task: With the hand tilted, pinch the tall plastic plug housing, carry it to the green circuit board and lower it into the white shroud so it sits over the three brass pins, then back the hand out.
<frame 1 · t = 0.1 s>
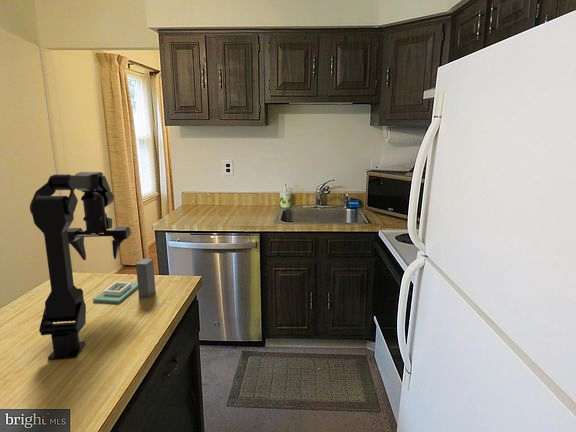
hand: (100, 259, 114), 14 cm above the worktop, tool pointing down, fingers open, 9 cm apart
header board: (118, 293, 123), on the worktop
plug housing: (147, 294, 122), on the worktop
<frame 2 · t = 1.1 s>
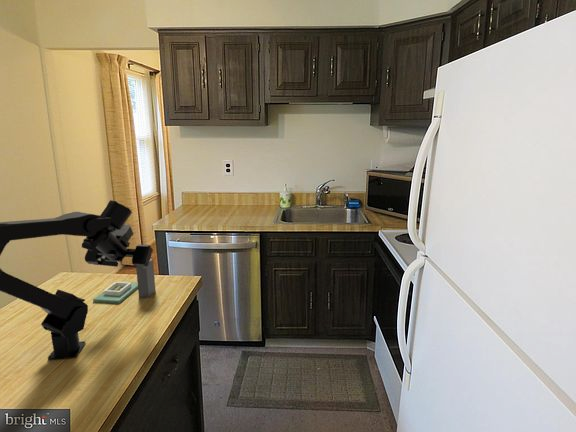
hand: (131, 265, 111), 14 cm above the worktop, tool tilted 45°, fingers open, 9 cm apart
nothing on the worktop moved.
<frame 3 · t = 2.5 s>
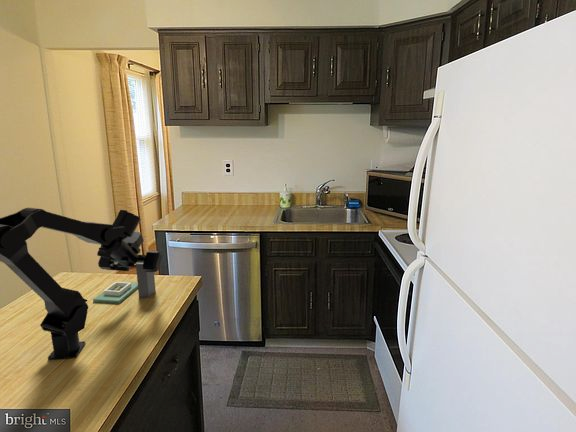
hand: (141, 270, 118), 10 cm above the worktop, tool tilted 45°, fingers open, 9 cm apart
nothing on the worktop moved.
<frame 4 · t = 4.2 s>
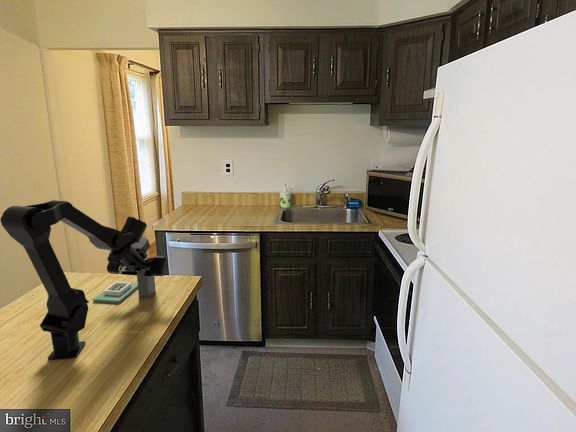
hand: (147, 274, 122), 7 cm above the worktop, tool tilted 45°, fingers closed on plug housing, 3 cm apart
plug housing: (147, 294, 122), on the worktop, touching gripper
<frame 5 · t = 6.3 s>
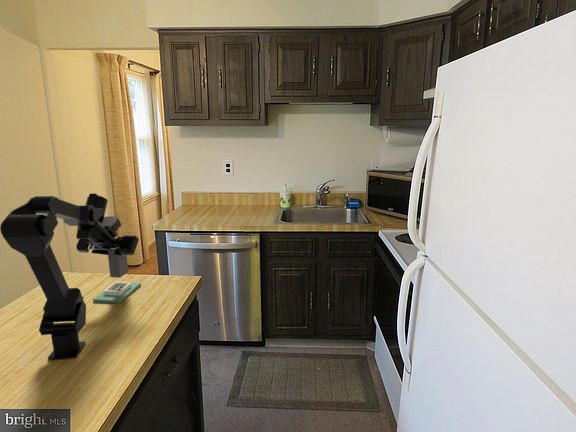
hand: (119, 254, 121), 14 cm above the worktop, tool tilted 45°, fingers closed on plug housing, 3 cm apart
plug housing: (119, 274, 121), point 7 cm above the worktop, touching gripper
when the fingers open (9 cm above the worktop, at t = 8.2 s): plug housing stays where it is, resting on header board.
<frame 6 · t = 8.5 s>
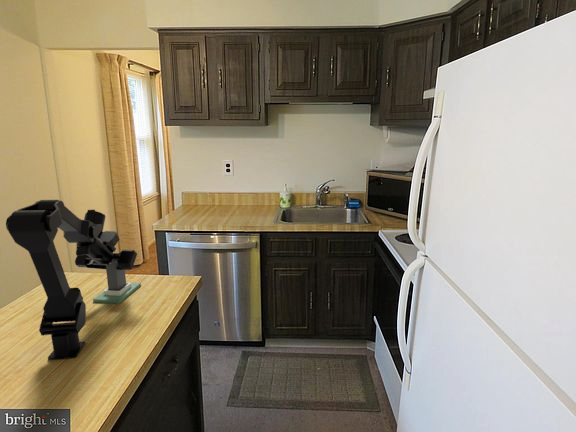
hand: (118, 268, 122), 9 cm above the worktop, tool tilted 45°, fingers open, 6 cm apart
plug housing: (117, 290, 123), point 1 cm above the worktop, touching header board
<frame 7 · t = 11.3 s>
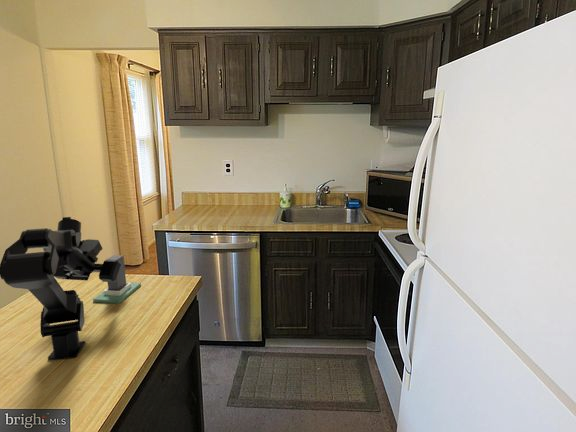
hand: (101, 279, 113), 9 cm above the worktop, tool tilted 45°, fingers open, 9 cm apart
nothing on the worktop moved.
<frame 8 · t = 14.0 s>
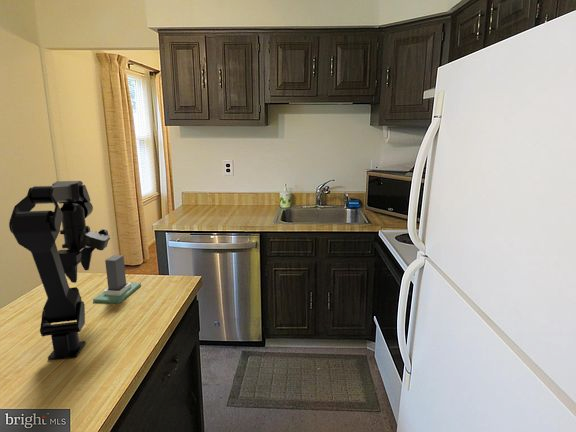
hand: (80, 276, 105), 13 cm above the worktop, tool pointing down, fingers open, 9 cm apart
nothing on the worktop moved.
at the end: plug housing 0.1 cm off-centre on the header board, point 1.0 cm above the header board's base; plug housing tilted 0°; the gripper is holding nothing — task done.
